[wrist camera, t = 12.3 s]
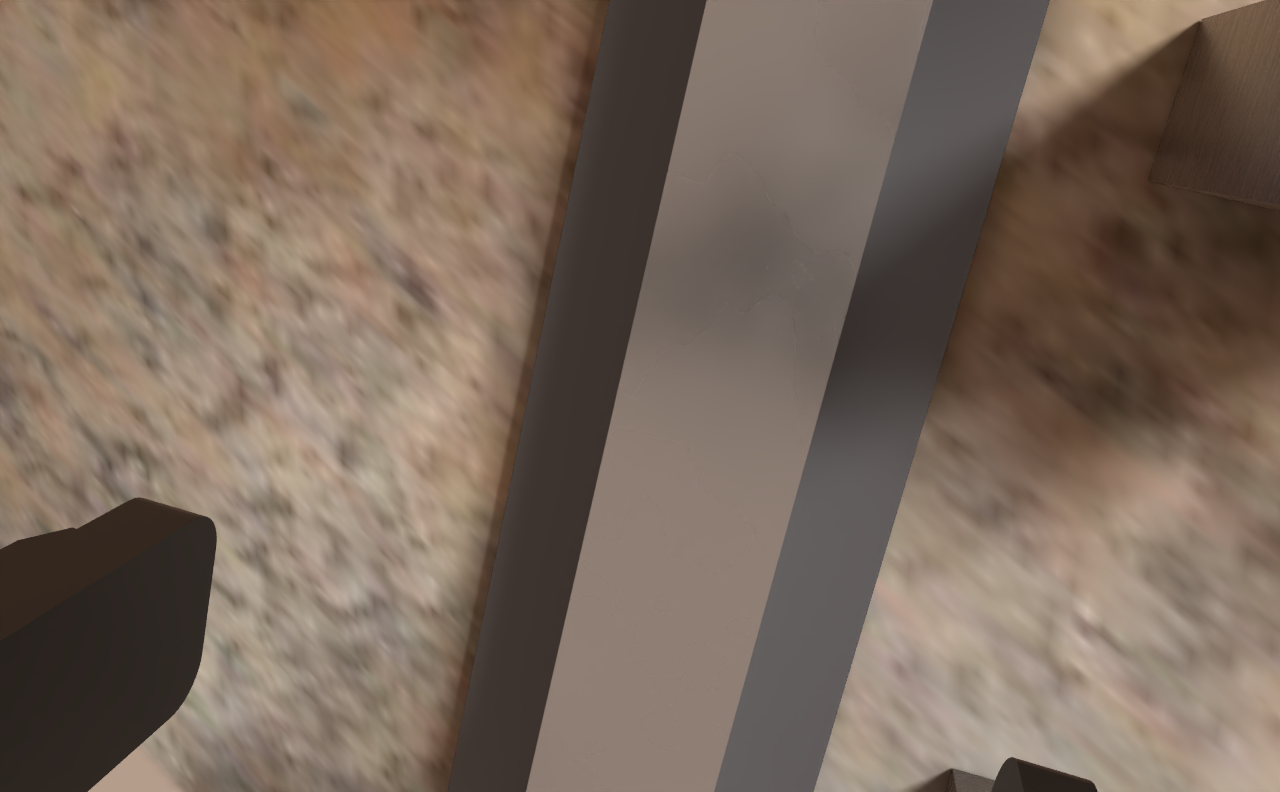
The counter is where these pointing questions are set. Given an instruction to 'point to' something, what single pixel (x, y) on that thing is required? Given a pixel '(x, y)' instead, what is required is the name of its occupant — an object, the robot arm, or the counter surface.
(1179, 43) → the counter surface
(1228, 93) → the post
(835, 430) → the mat
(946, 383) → the counter surface
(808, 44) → the rail
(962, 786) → the post
